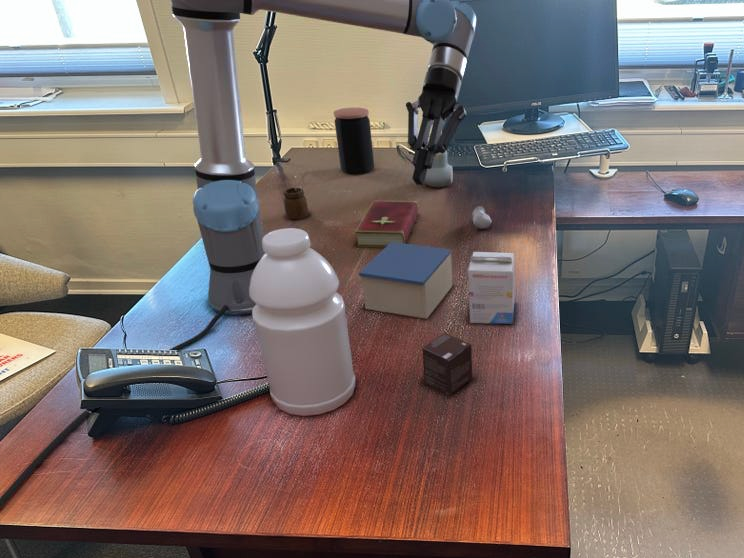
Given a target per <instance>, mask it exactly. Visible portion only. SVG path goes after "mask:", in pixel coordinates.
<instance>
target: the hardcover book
mask: <svg viewBox="0 0 744 558" xmlns="http://www.w3.org/2000/svg"><path fill="white" fill-rule="evenodd" d="M418 214H419V204H418V202H417V201H415V200H373V201H372V202H371V203H370V205H369V207H368V208H367V210H366V212H365V213H364V215H363V217H362V218H361V220H360V222H359V223H358V225H357V226H356V229H355V230H354V234H356V238H357V242H356V245H355V247H358V248H386V247H387V246H388V245H389V244H390V243H391V242H397V243H405V244H407V241H408V238H409V236H410V234H411V232H412V230H413V229H412V228H413V226H414V224H415V222H416V219H417V218H418Z"/></svg>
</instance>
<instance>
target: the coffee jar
mask: <svg viewBox="0 0 744 558" xmlns="http://www.w3.org/2000/svg"><path fill="white" fill-rule="evenodd" d="M369 114H370V113H369V110H368V109H367V108H365V107H364V108H363V107H343V108H339V109H336V110H334V111H333V116H334V128H335V135H336V143H337V150H338V157H339V158H338V159H339V164H340V166H339V167H340V170H341V171H342V172H343V173H344V174H346V175H352V176H353V175H357V176H358V175H365V174H368V173H370V172H372V171H373V169H374V168H375V162H374V159H375V158H374V150H373V141H372V139H373V138H372V131H371V120H370V118H369Z"/></svg>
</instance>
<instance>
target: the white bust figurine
mask: <svg viewBox="0 0 744 558" xmlns="http://www.w3.org/2000/svg"><path fill="white" fill-rule="evenodd" d="M471 216H472V223H473V225H474V227H476V228H477V229H480V230H485V229H489V227H490V226H491V225H492V219H491V218H490V215H489V214H487V213H486V210H485V208H484V207H483V206H482V205H478V206H476V207H475V208H473V211H472V213H471Z"/></svg>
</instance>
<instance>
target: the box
mask: <svg viewBox="0 0 744 558" xmlns="http://www.w3.org/2000/svg"><path fill="white" fill-rule="evenodd" d="M421 349H422V362H423V378H424V379H423V381H424V383H425V384H426V385H429V386H430V387H433V388H435V389H436V390H439V391H440V392H443V393H445V394H446V395H452V394H453V393H455V392H456V391H458V390H459V389H460V388H462V387H463V386H465V385H466V384H467V383H469V382H470V381H471V380H473V355H472V353H473V352H472V351H473V350H472V343H470V342H467V341H465V340H463V339H460V338H458V337H456V336H454V335H452V334H449V333H447V332H444V333H443V334H441V335H440V336H438V337H437V338H435V339H433V340H432V341H430V342H429V343H427V344H425V345H424V346H422V347H421Z"/></svg>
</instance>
